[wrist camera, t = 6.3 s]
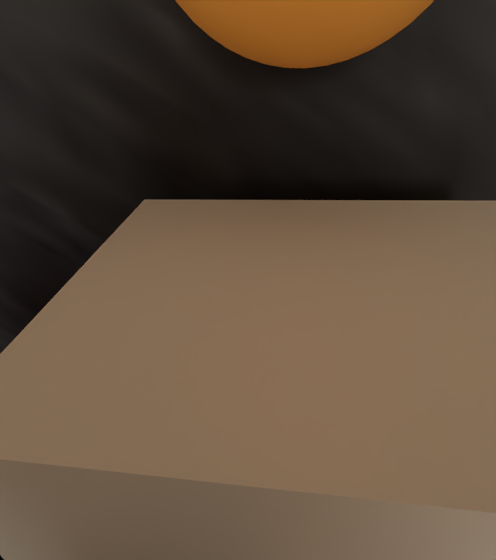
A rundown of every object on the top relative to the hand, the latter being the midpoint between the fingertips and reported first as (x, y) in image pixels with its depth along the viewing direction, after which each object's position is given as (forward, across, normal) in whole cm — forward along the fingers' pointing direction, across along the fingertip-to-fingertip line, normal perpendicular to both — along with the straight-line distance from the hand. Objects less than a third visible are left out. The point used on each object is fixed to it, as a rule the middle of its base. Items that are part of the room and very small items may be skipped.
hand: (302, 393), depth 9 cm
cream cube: (+2, 0, 0) cm, 2 cm away
